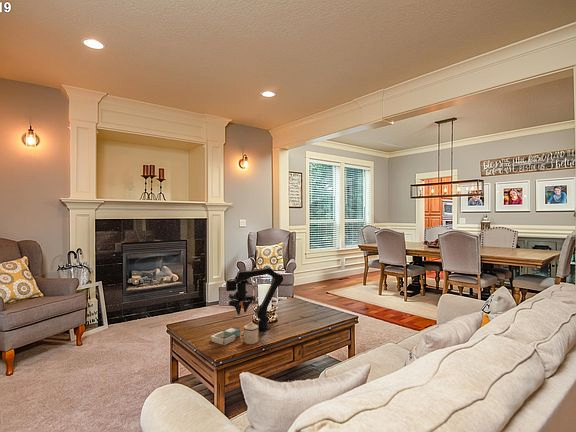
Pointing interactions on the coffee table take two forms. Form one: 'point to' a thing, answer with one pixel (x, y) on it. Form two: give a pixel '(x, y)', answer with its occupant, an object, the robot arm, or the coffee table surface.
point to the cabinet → (232, 332)
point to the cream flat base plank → (218, 339)
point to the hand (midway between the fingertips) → (241, 313)
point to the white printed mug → (250, 333)
